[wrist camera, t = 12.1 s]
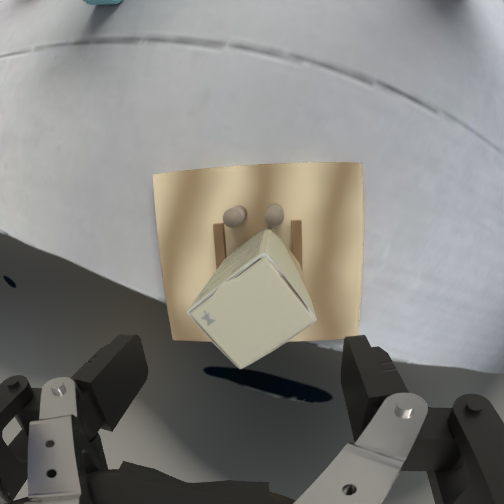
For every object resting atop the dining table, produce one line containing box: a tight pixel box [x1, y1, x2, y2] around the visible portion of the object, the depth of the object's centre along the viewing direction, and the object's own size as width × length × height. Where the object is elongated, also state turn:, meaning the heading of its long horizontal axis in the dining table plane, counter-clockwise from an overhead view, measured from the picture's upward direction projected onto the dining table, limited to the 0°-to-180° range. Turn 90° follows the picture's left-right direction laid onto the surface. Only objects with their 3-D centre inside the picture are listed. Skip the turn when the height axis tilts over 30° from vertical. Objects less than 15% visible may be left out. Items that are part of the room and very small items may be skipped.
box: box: [187, 226, 317, 369], centre depth 19 cm, size 5×4×11 cm
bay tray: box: [153, 162, 363, 342], centre depth 24 cm, size 18×16×5 cm
